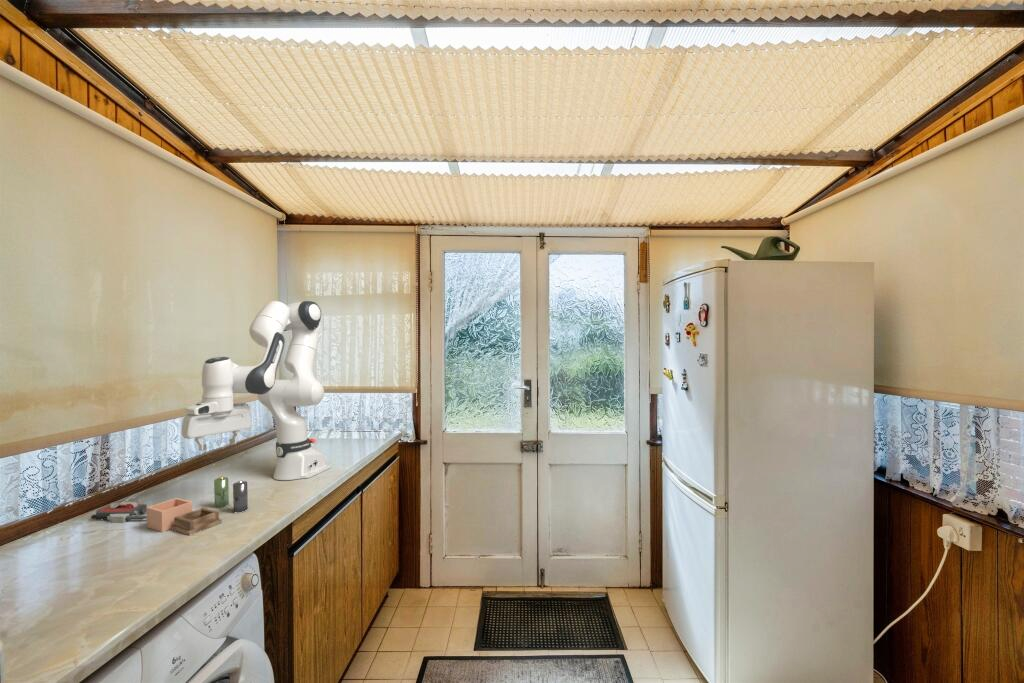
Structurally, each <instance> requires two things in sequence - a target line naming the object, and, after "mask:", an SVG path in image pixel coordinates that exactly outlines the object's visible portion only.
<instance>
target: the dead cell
mask: <svg viewBox="0 0 1024 683" xmlns="http://www.w3.org/2000/svg"><path fill="white" fill-rule="evenodd" d="M248 491H249V490H248V481H246V480H237V481H236V482H234V483H233V484H232V500H233V501H232V503H233V506H232V507H233V513H234V512H242V511H245V510H247V509H248V510H249V497H248V495H249V494H248ZM248 510H247V511H248ZM245 512H246V511H245ZM242 513H243V512H242Z"/></svg>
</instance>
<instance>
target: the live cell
mask: <svg viewBox="0 0 1024 683" xmlns="http://www.w3.org/2000/svg"><path fill="white" fill-rule="evenodd" d="M213 489H214V490H213V493H214V497H213V498H214V508H215V507H223V508H225V507H224V506H226V505H228V504H229V505H230V498H229V497H230V496H229V493H230V492H229V490H230V489H229V477H227V476H219V477H217V478H214V480H213ZM229 505H228V506H229ZM226 507H227V506H226Z"/></svg>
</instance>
